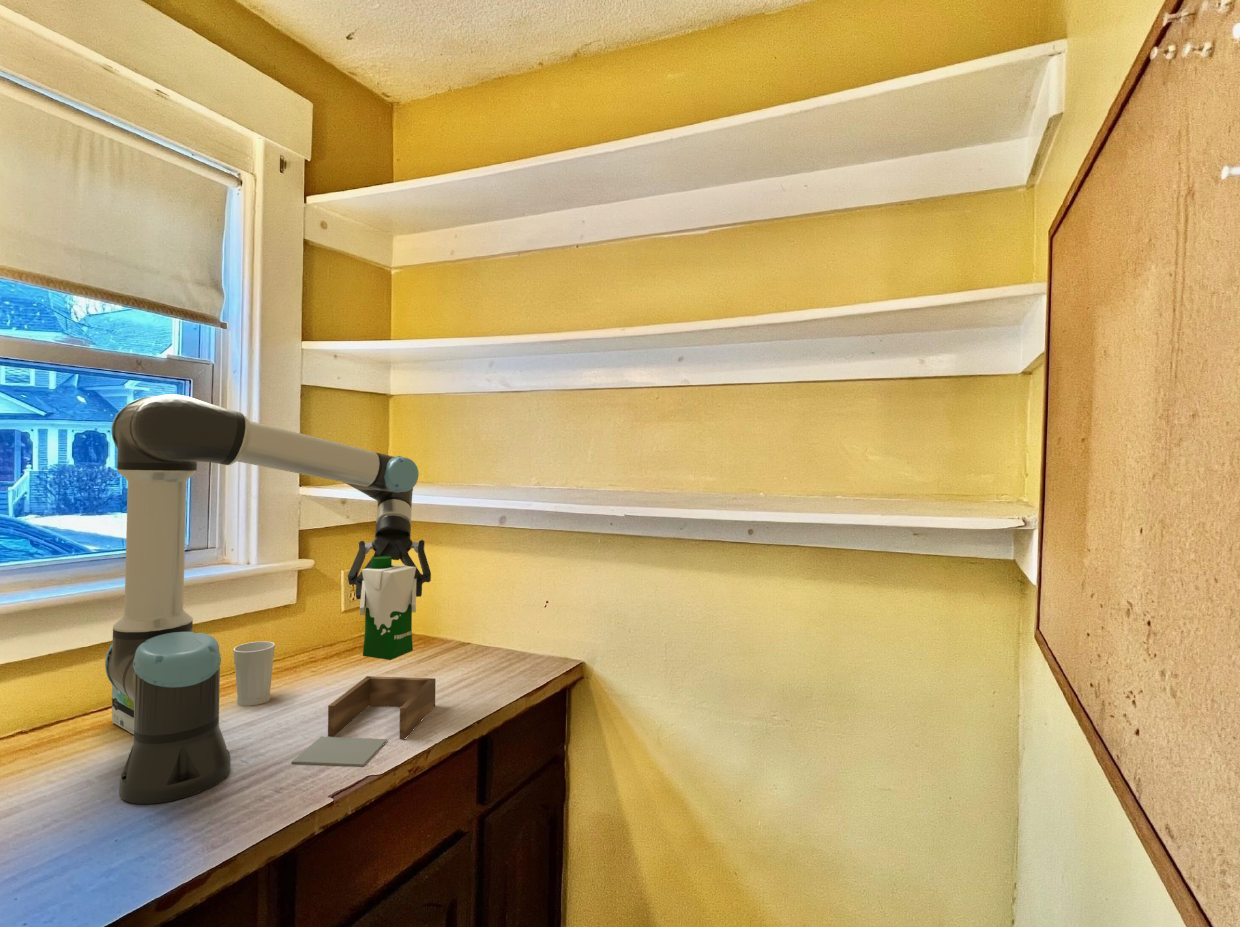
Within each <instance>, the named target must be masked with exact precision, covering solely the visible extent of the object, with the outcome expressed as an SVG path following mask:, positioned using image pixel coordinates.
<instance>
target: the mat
mask: <svg viewBox="0 0 1240 927" xmlns="http://www.w3.org/2000/svg"><path fill="white" fill-rule="evenodd" d="M386 741H387V742H388V739H387V738H371V737H370V738H369V737H367V738H366V737H347V736H346V737H339V736H334V737H329V736H320V737H319V738H317V739H316V740H315V741H314V742H312V744H311V745H309V746H308V747H307V748H306V749H304V750H303V751H301V753H299V755H297V756H296V757H295V758H294V759H293V760H291V762H290V763H291V764H292V765H293V764H294V765H313V766H315V765H319V766H340V767H342V766H343V767H361V766H363V767H364V766H365V765H366V764H367V763H368V762H369V761H370V760H371V759H372V758H373V757H374V756H375V755H374V754H375V753H376V752H377V753H378V751H380V750H381V748H382V747H383V746H384V745H385V744H386V743H387V742H386ZM385 742H386V743H385ZM384 743H385V744H384ZM383 744H384V745H383ZM377 753H376V754H377ZM373 755H374V756H373ZM372 756H373V757H372ZM371 757H372V758H371ZM370 758H371V759H370Z"/></svg>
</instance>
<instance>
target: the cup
mask: <svg viewBox="0 0 1240 927" xmlns="http://www.w3.org/2000/svg"><path fill="white" fill-rule="evenodd" d="M275 645H276V643H275V642H272V641H268V640H267V641H266V640H265V641H251V642H246V643H242V644H239V645H236V646H234V647H233V650H232V651H233V659H234V669H235V671H234V672H235V684H236V696H237V697H236V705H238V706H241V707H251V706H252V705H253V706H257V705H263V704H265V703H267V702H269V701H270V699H271V689H272V688H271V687H272V675H273V665H274V664H273V663H274V656H275V655H274V654H275V648H276V646H275ZM266 701H267V702H266ZM253 706H252V707H253Z"/></svg>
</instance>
